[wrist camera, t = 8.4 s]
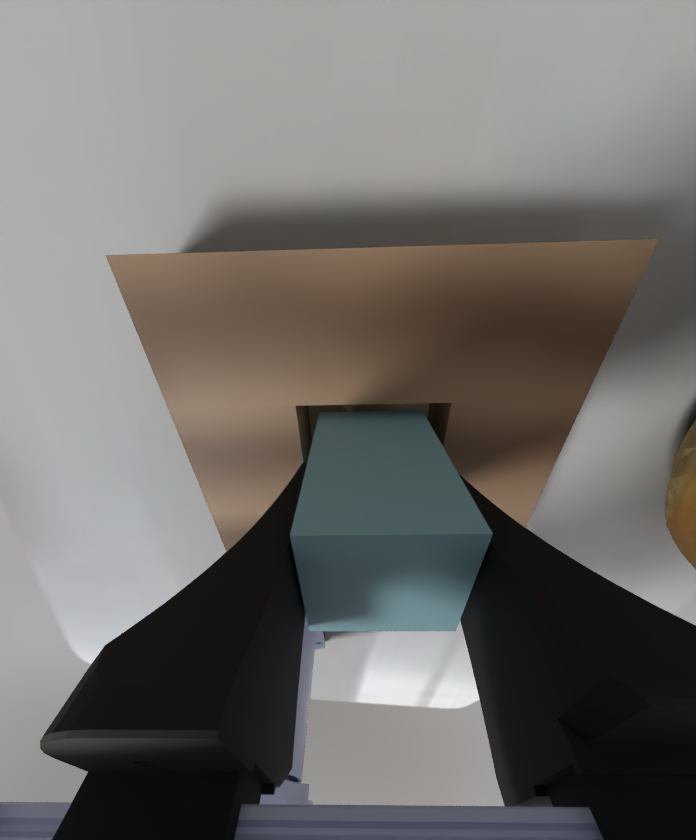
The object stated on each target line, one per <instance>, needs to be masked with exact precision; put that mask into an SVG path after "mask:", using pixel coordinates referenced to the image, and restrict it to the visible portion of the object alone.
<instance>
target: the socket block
mask: <svg viewBox="0 0 696 840" xmlns="http://www.w3.org/2000/svg"><path fill="white" fill-rule="evenodd" d="M658 241H659V239H633V240H600V241H566V242H533V243H500V244H467V245H434V246H401V247H367V248H334V249H301V250H268V251H235V252H201V253H168V254H135V255H106V257H107V260H108V262H109V265H110V267H111V270H112V272H113V275H114V277H115V279H116V282H117V284H118V287H119V289H120V292H121V294H122V297H123V299H124V301H125V304H126V306H127V309H128V311H129V314H130V316H131V319H132V321H133V324H134V326H135V328H136V331H137V333H138V336H139V338H140V341H141V343H142V346H143V348H144V350H145V353H146V355H147V358H148V360H149V363H150V365H151V368H152V370H153V373H154V375H155V377H156V380H157V382H158V385H159V387H160V390H161V392H162V395H163V397H164V400H165V402H166V404H167V407H168V409H169V412H170V414H171V417H172V419H173V422H174V424H175V426H176V429H177V431H178V434H179V436H180V439H181V441H182V444H183V446H184V449H185V451H186V453H187V456H188V458H189V461H190V463H191V466H192V468H193V471H194V473H195V475H196V478H197V480H198V483H199V485H200V488H201V490H202V493H203V495H204V498H205V500H206V502H207V505H208V507H209V510H210V512H211V515H212V517H213V520H214V522H215V524H216V527H217V529H218V532H219V534H220V537H221V539H222V542H223V544H224V547H225V549H226V551H228V550H229V549H230V548H231V547H233V546H234V545H235V544H236V543H237V542H238V541H239V540H240V539H241V538H242V537H243V536H244V535H245V534H246V533H247V532H248V531H249V530H250V529H251V528H252V527H253V525H254V524H255V523H256V522H257V521H258V520H259V519H260V518H261V517H262V515H263V514H264V513H265V512H266V511H267V510H268V508H269V507H270V506H271V505H272V504H273V503H274V501H275V500H276V499H277V498H278V496H279V495H280V494H281V492H282V491H283V490H284V488H285V487H286V486H287V485H288V483H289V482H290V480H291V479H292V478H293V476H294V475H295V473H296V472H297V470H298V469H299V467H300V466H301V464H302V463H303V462H308V458H309V454H310V449H311V445H312V441H313V437H314V433H315V428H316V424H317V420H318V416H319V412H367V411H421V410H422V411H423V413H424V415H425V416H426V418H427V420H428V421H429V423H430V425H431V427H432V428H433V430H434V432H435V434H436V435H437V437H438V439H439V441H440V442H441V444H442V446H443V448H444V449H445V451H446V453H447V455H448V456H449V458H450V460H451V462H452V463H453V465H454V467H455V469H456V470H457V472H458V473H459V474H460V475H461V476H462V477H463V478H464V479H465V480H466V481H468V482H469V483H470V484H471V485H472V486H473V487H474V488H475V489H477V490H478V491H479V492H480V493H481V494H482V495H484V496H485V497H486V498H487V499H488V500H490V501H491V502H492V503H493V504H495V505H496V506H497V507H498V508H500V509H501V510H502V511H503V512H505V513H506V514H507V515H509V516H510V517H511V518H512V519H514V520H515V521H516V522H518V523H519V524H521V525H522V526H523V527H526V525H527V522H528V520H529V518H530V516H531V514H532V512H533V510H534V507H535V505H536V503H537V501H538V499H539V497H540V495H541V492H542V490H543V488H544V486H545V484H546V482H547V479H548V477H549V475H550V473H551V471H552V469H553V467H554V464H555V462H556V460H557V458H558V456H559V454H560V452H561V449H562V447H563V445H564V443H565V441H566V439H567V437H568V434H569V432H570V430H571V428H572V426H573V424H574V422H575V419H576V417H577V415H578V413H579V411H580V409H581V407H582V404H583V402H584V400H585V398H586V396H587V394H588V392H589V389H590V387H591V385H592V383H593V381H594V379H595V376H596V374H597V372H598V370H599V368H600V366H601V364H602V361H603V359H604V357H605V355H606V353H607V351H608V349H609V346H610V344H611V342H612V340H613V338H614V336H615V334H616V331H617V329H618V327H619V325H620V323H621V321H622V319H623V316H624V314H625V312H626V310H627V308H628V306H629V304H630V301H631V299H632V297H633V295H634V293H635V291H636V289H637V286H638V284H639V282H640V280H641V278H642V276H643V273H644V271H645V269H646V267H647V265H648V263H649V261H650V258H651V256H652V254H653V252H654V250H655V248H656V246H657V243H658Z"/></svg>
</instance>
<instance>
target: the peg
mask: <svg viewBox="0 0 696 840" xmlns="http://www.w3.org/2000/svg"><path fill="white" fill-rule="evenodd" d="M492 535H493V533H492V531H491V530H490V528H489V526H488V524H487V523H486V521H485V519H484V517H483V516H482V514H481V512H480V510H479V509H478V507H477V505H476V503H475V502H474V500H473V498H472V496H471V495H470V493H469V491H468V490H467V488H466V486H465V484H464V483H463V481H462V479H461V477H460V476H459V474H458V472H457V470H456V469H455V467H454V465H453V463H452V462H451V460H450V458H449V456H448V455H447V453H446V451H445V449H444V448H443V446H442V444H441V442H440V441H439V439H438V437H437V435H436V434H435V432H434V430H433V428H432V427H431V425H430V423H429V421H428V420H427V418H426V416H425V415H424V413H423V411H422V410H421V411H367V412H319V416H318V420H317V424H316V428H315V433H314V437H313V441H312V445H311V449H310V454H309V458H308V462H307V466H306V470H305V474H304V479H303V483H302V487H301V491H300V495H299V500H298V504H297V508H296V512H295V516H294V520H293V525H292V529H291V533H290V539H291V544H292V549H293V554H294V559H295V563H296V568H297V573H298V578H299V583H300V588H301V593H302V598H303V602H304V607H305V612H306V617H307V622H308V627H309V631H456V629H457V627H458V624H459V621H460V619H461V616H462V613H463V611H464V608H465V606H466V603H467V600H468V598H469V595H470V592H471V590H472V587H473V585H474V582H475V579H476V577H477V574H478V571H479V569H480V566H481V564H482V561H483V558H484V556H485V553H486V551H487V548H488V545H489V543H490V540H491V537H492Z"/></svg>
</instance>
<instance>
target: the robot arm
mask: <svg viewBox="0 0 696 840" xmlns="http://www.w3.org/2000/svg"><path fill="white" fill-rule="evenodd" d="M306 466H307V462H303V463H302V464H301V466H300V467H299V469H298V470H297V472H296V473H295V475H294V476H293V478H292V479H291V480H290V482H289V483H288V485H287V486H286V487H285V488H284V490H283V491H282V492H281V494H280V495H279V496H278V498H277V499H276V500H275V501H274V503H273V504H272V505H271V506H270V507H269V508H268V510H267V511H266V512H265V513H264V514H263V515H262V517H261V518H260V519H259V520H258V521H257V522H256V523H255V524H254V525H253V527H252V528H251V529H250V530H249V531H248V532H247V533H246V534H245V535H244V536H243V537H242V538H241V539H240V540H239V541H238V542H237V543H236V544H235V545H234V546H233V547H231V548H230V549H229V550H228V551H227V552H226V553H225V554H224V555H223V556H222V557H221V558H220V559H218V560H217V561H216V562H215V563H214V564H213V565H212V566H210V567H209V568H208V569H207V570H206V571H205V572H203V573H202V574H201V575H200V576H198V577H197V578H196V579H195V580H193V581H192V582H191V583H190V584H189V585H187V586H186V587H185V588H184V589H182V590H181V591H180V592H179V593H177V594H176V595H175V596H174V597H172V598H171V599H170V600H168V601H167V602H166V603H164V604H163V605H162V606H160V607H159V608H158V609H156V610H155V611H153V612H152V613H151V614H149V615H148V616H146V617H145V618H144V619H142V620H141V621H139V622H138V623H137V624H135V625H134V626H132V627H131V628H130V629H128V630H127V631H125V632H124V633H122V634H121V635H120V636H118V637H117V638H115V639H114V640H112V641H111V642H109V643H108V644H106V645H105V647H104V648H103V649H102V651H101V652H100V653H99V655H98V656H97V658H96V659H95V660H94V662H93V663H92V664H91V666H90V667H89V669H88V670H87V672H86V673H85V674H84V676H83V678H82V679H81V680H80V682H79V684H78V685H77V686H76V688H75V689H74V691H73V692H72V694H71V695H70V697H69V698H68V700H67V701H66V703H65V704H64V706H63V707H62V709H61V710H60V712H59V713H58V715H57V716H56V718H55V719H54V721H53V722H52V724H51V725H50V727H49V728H48V730H47V731H46V733H45V734H44V736H43V737H42V739H41V741H40V747H41V750H42V751H43V752H44V753H45V754H47V755H49V756H51V757H53V758H55V759H58V760H60V761H63V762H65V763H68V764H70V765H73V766H76V767H78V768H80V769H83V770H85V771H88V773H87V776H86V777H85V779H84V781H83V783H82V785H81V787H80V788H79V790H78V792H77V794H76V796H75V798H74V800H73V802H72V803H55V802H54V803H53V802H0V840H696V626H695V625H693V624H691V623H689V622H687V621H685V620H683V619H681V618H679V617H677V616H675V615H673V614H671V613H669V612H667V611H665V610H663V609H661V608H659V607H657V606H655V605H653V604H651V603H649V602H647V601H646V600H644V599H642V598H640V597H638V596H636V595H635V594H633V593H631V592H629V591H627V590H625V589H624V588H622V587H620V586H618V585H616V584H614V583H613V582H611V581H609V580H607V579H606V578H604V577H602V576H600V575H599V574H597V573H595V572H593V571H592V570H590V569H588V568H587V567H585V566H583V565H582V564H580V563H578V562H577V561H575V560H574V559H572V558H570V557H569V556H567V555H565V554H564V553H562V552H560V551H559V550H557V549H556V548H554V547H553V546H551V545H550V544H548V543H547V542H545V541H544V540H542V539H541V538H539V537H538V536H536V535H535V534H533V533H532V532H531V531H529V530H528V529H526V528H525V527H523V526H522V525H521V524H519V523H518V522H516V521H515V520H514V519H512V518H511V517H510V516H509V515H507V514H506V513H505V512H503V511H502V510H501V509H500V508H498V507H497V506H496V505H495V504H493V503H492V502H491V501H490V500H488V499H487V498H486V497H485V496H484V495H482V494H481V493H480V492H479V491H478V490H477V489H475V488H474V487H473V486H472V485H471V484H470V483H469V482H468V481H466V480H465V479H464V478H463V477H462V476H461V475H460V474H459V473H458V474H459V476H460V477H461V479H462V481H463V483H464V484H465V486H466V488H467V490H468V491H469V493H470V495H471V496H472V498H473V500H474V502H475V503H476V505H477V507H478V509H479V510H480V512H481V514H482V516H483V517H484V519H485V521H486V523H487V524H488V526H489V528H490V530H491V531H492V533H493V535H492V537H491V540H490V543H489V545H488V548H487V551H486V553H485V556H484V558H483V561H482V564H481V566H480V569H479V571H478V574H477V577H476V579H475V582H474V585H473V587H472V590H471V592H470V595H469V598H468V600H467V603H466V606H465V608H464V611H463V613H462V616H461V619H460V620H461V624H462V628H463V632H464V636H465V640H466V644H467V648H468V652H469V656H470V660H471V664H472V668H473V672H474V677H475V681H476V685H477V689H478V694H479V698H480V702H481V707H482V711H483V716H484V721H485V725H486V730H487V734H488V739H489V744H490V748H491V753H492V758H493V763H494V768H495V773H496V777H497V781H498V784H499V788H500V791H501V795H502V798H503V801H504V805H505V806H504V807H503V806H502V807H501V806H497V807H496V806H495V807H494V806H389V805H387V806H385V805H314V803H313V802H312V801H311V800H308V793H309V784H303V783H301V782H302V772H303V761H304V752H305V740H306V734H307V725H308V714H309V704H310V693H311V683H312V673H313V662H314V652H315V650H322V649H324V648H325V639H324V633H323V631H309V627H308V622H307V617H306V612H305V607H304V602H303V598H302V593H301V588H300V583H299V578H298V573H297V568H296V563H295V559H294V554H293V549H292V544H291V539H290V533H291V529H292V525H293V520H294V516H295V512H296V508H297V504H298V500H299V495H300V491H301V487H302V483H303V479H304V474H305V470H306Z"/></svg>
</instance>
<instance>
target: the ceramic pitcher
mask: <svg viewBox="0 0 696 840" xmlns="http://www.w3.org/2000/svg"><path fill="white" fill-rule="evenodd" d="M665 516H666V526H667V528H668V530H669V532H670V534H671V536H672V538H673V540H674V541H675V543H676V545H677V547H678V549H679V550H680V551H681V553H682V554H683V555H684V557H685V558H686V559H687V560H688V561H689V562H690V563H691V565H692V566H693V567H694V568H695V569H696V420H695V422H694V423H693V425H692V426H691V428H690V429H689V431H688V432H687V434H686V435H685V437H684V439H683V441H682V443H681V445H680V447H679V449H678V451H677V455H676V459H675V463H674V466H673V470H672V474H671V478H670V482H669V485H668V489H667V494H666V504H665Z"/></svg>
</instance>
